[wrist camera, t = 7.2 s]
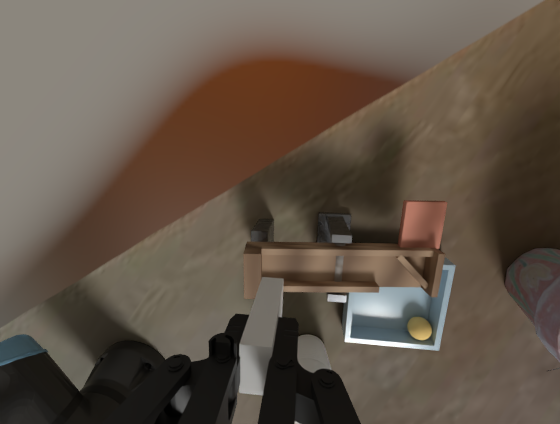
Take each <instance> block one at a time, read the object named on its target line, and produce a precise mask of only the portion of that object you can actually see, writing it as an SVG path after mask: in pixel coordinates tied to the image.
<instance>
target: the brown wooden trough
mask: <svg viewBox="0 0 560 424" xmlns="http://www.w3.org/2000/svg"><path fill="white" fill-rule="evenodd" d="M446 208H447V202H445V201H407V200H404V202H403V209H402V217H401V224H400V231H399V238H398V244H397V243H335V242H334V243H315V242H247V244H246V247H245V251H244V299H255V297H256V294H257V291H258V288H259V285H260V282H261V279H262V277H270V278H283V279H284V283H283V292H359V293H379V287H421V288H422V289H423V290H424V291H425V292H426V293H427V294H428V295H429V296H430V297H438V292H439V286H440V281H441V275H442V270H443V265H444V259H445V254H444V253H443V252H441V251H440V250H438V249H439V247H440V242H441V236H442V230H443V225H444V219H445V213H446Z"/></svg>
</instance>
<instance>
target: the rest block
mask: <svg viewBox="0 0 560 424" xmlns="http://www.w3.org/2000/svg"><path fill="white" fill-rule="evenodd" d="M251 242H274V220H270V219H259V221H258V222H257V223H256V225H255V226H254V228H253V229H252V230H251Z"/></svg>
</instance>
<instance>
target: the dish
mask: <svg viewBox="0 0 560 424" xmlns="http://www.w3.org/2000/svg"><path fill="white" fill-rule="evenodd" d="M454 271H455V265H454V264H453V263H452V262H450V261H449V260H448V259H447V258H446V257H445V259H444V265H443V270H442V275H441V281H440V286H439V292H438V297H430V296H429V295H428V294H427V293H426V292H425V291H424V290H423V289H422V288H421V287H379V293H359V292H346V295H347V298H346V303H344V306H343V317H342V330H343V336H344V341H345V342H352V343H363V344H373V345H384V346H394V347H405V348H415V349H426V350H437V351H439V347H440V342H441V337H442V332H443V327H444V321H445V316H446V311H447V306H448V301H449V296H450V291H451V286H452V281H453V276H454ZM413 317H422V318H424V319H426V320H427V321H428V322H429V323H430V325H431V328H432V333H431V335H430V337H429V338H428V339H426V340H418V339H415V338H414V337H412V336H411V334H410V333H409V331H408V328H407V324H408V321H409V320H410V319H411V318H413Z"/></svg>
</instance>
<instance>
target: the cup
mask: <svg viewBox="0 0 560 424" xmlns="http://www.w3.org/2000/svg"><path fill="white" fill-rule="evenodd" d="M297 359H298V362H299V364H300V365H301V366H302V367H303V368H304V369H305V370H307V371H309V372H312V373H314V372H315V371H317V370H319V369H322V368H323V369H330V370H332V369H331V366H330V362H329V359H328V356H327V352H326V349H325V346H324V343H323V342H322V341H321V340H320V339H319V338H318V337H316V336H314V335H308V334H307V335H301V336H299V337H298V351H297ZM295 424H300V423H298V422H296V421H295Z"/></svg>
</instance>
